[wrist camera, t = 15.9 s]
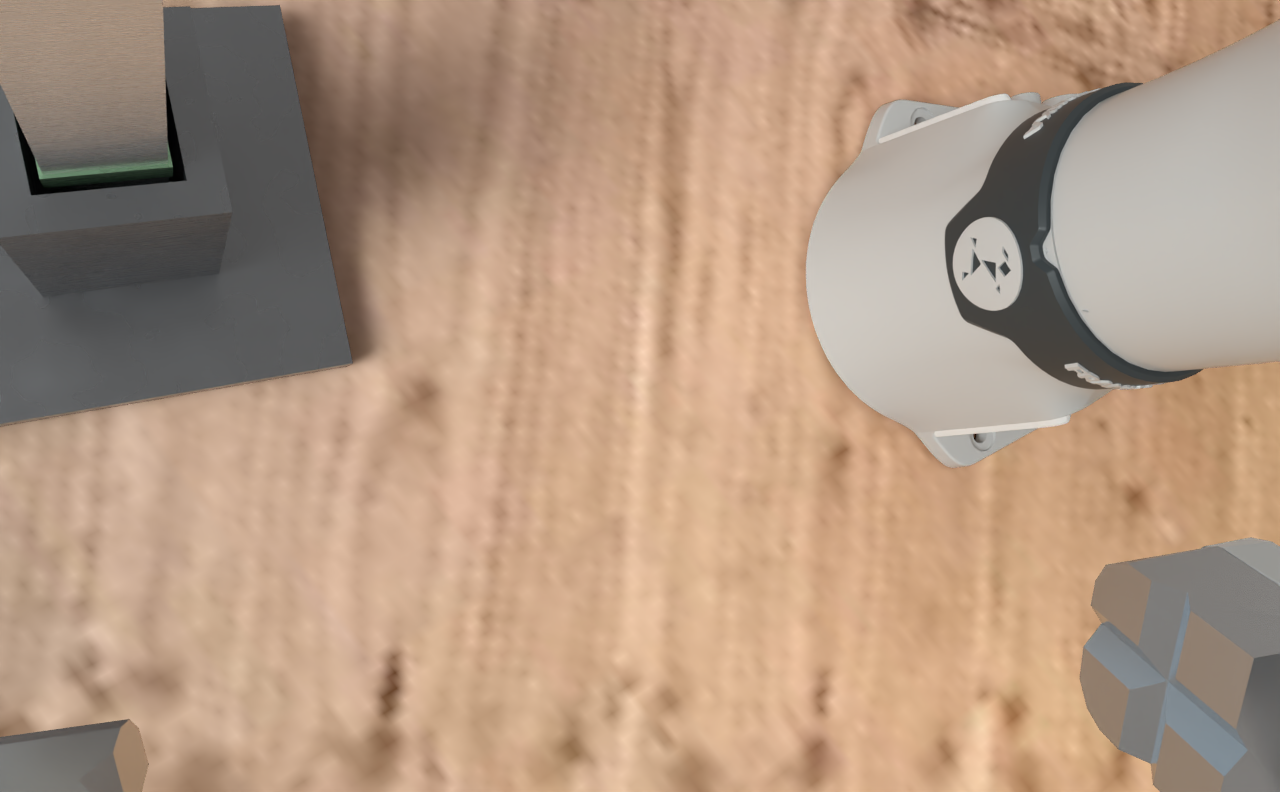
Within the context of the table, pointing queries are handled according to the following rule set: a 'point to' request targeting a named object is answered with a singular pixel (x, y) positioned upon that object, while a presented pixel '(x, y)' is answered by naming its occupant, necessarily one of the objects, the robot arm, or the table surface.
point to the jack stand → (174, 243)
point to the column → (88, 89)
